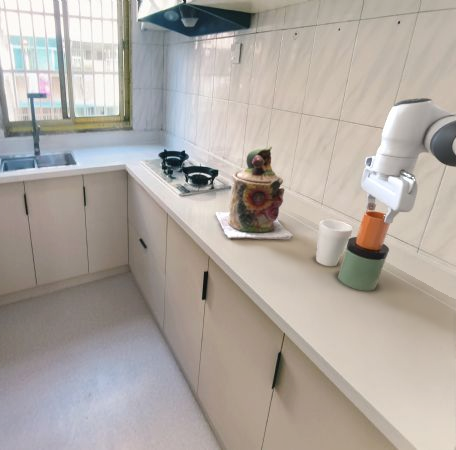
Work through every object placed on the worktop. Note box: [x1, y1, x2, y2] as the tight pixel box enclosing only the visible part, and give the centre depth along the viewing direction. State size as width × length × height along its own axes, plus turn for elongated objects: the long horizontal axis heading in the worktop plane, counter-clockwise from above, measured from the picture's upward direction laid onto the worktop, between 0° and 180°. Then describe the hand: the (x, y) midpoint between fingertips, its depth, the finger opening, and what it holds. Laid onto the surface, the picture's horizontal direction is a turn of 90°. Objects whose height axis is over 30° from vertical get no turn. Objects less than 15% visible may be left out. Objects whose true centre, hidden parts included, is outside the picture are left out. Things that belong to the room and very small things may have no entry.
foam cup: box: [315, 218, 354, 267], centre depth 108 cm, size 10×9×13 cm
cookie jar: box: [215, 145, 294, 240], centre depth 128 cm, size 25×25×32 cm
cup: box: [356, 210, 391, 250], centre depth 94 cm, size 6×6×9 cm
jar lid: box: [346, 236, 390, 259], centre depth 96 cm, size 10×10×2 cm
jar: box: [337, 246, 387, 292], centre depth 98 cm, size 10×10×12 cm
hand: (378, 215), depth 92 cm, fingers open, 8 cm apart
